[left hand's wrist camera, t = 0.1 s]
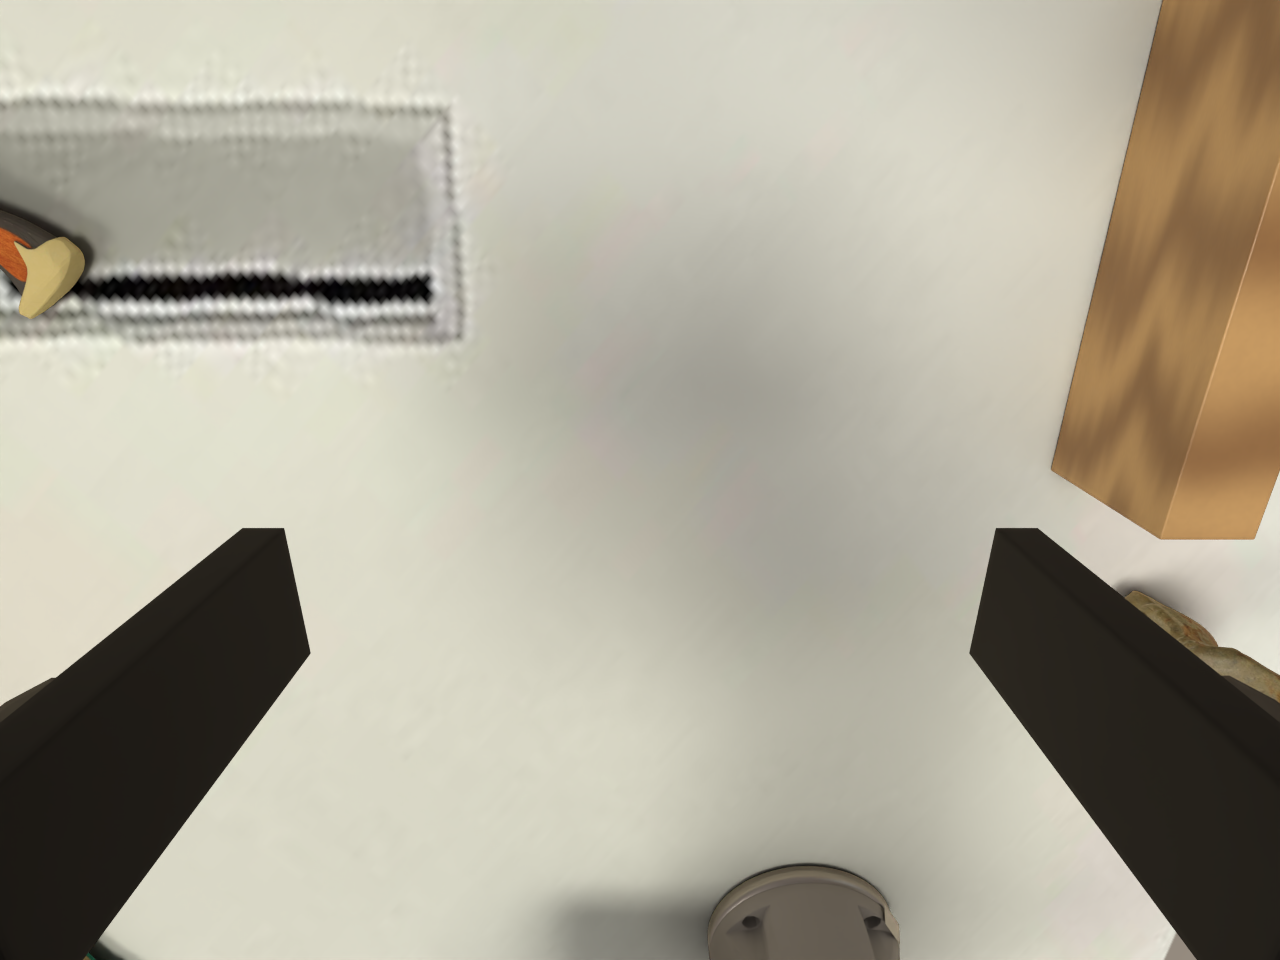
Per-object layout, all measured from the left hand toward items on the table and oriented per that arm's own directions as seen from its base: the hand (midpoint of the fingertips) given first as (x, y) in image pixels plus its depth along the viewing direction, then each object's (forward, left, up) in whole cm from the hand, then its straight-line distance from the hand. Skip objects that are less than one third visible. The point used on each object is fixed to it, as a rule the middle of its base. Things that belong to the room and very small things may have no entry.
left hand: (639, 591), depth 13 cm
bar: (+5, -28, -28) cm, 40 cm away
